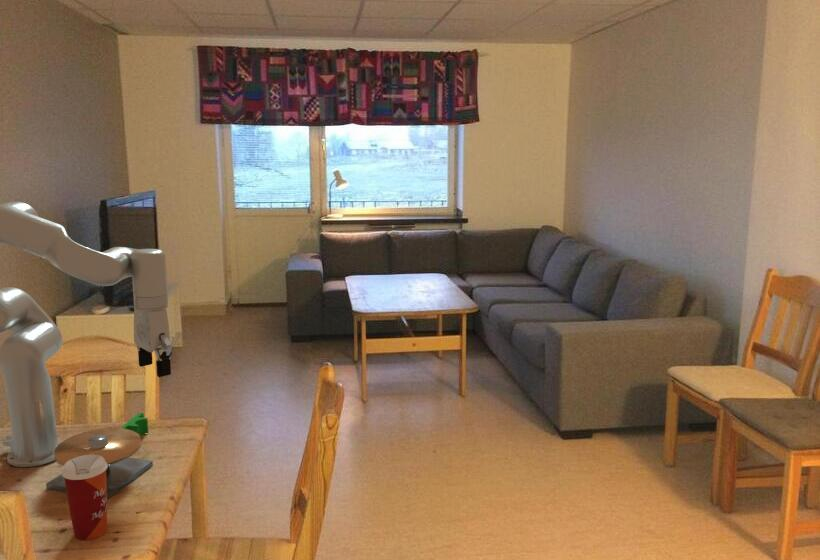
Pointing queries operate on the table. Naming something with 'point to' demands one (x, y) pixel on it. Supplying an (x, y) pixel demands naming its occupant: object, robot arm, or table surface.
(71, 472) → the coffee cup
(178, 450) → the table surface
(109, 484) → the bronze disc on slab
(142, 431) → the pipe clamp
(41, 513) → the table surface
